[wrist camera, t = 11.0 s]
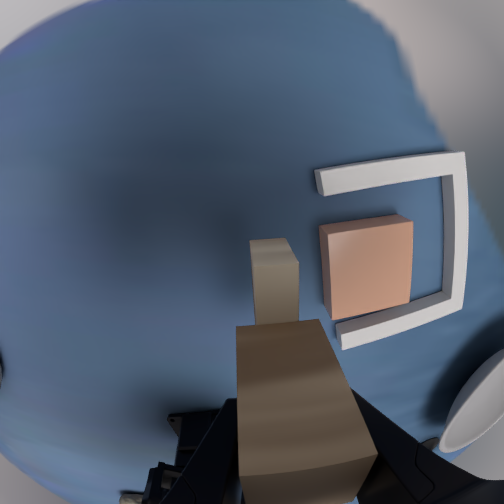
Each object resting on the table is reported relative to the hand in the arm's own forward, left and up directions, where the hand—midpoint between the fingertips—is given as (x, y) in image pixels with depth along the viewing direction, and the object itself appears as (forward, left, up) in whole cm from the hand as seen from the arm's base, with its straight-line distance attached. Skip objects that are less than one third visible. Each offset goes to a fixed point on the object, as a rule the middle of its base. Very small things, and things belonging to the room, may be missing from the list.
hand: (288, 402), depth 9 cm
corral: (-1, -9, -12) cm, 15 cm away
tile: (-1, -7, -12) cm, 14 cm away
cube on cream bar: (0, 0, -6) cm, 6 cm away
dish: (-21, -22, -12) cm, 33 cm away
